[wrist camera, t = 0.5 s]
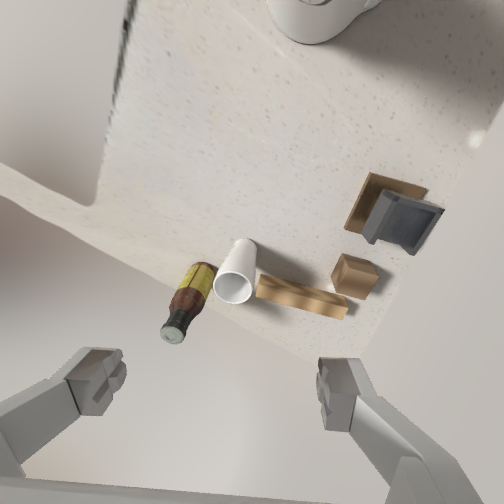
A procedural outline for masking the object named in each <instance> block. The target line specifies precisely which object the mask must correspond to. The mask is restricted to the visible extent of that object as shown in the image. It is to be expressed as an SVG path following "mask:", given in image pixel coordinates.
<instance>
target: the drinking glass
mask: <svg viewBox="0 0 504 504" xmlns="http://www.w3.org/2000/svg"><path fill="white" fill-rule="evenodd" d="M256 254H257V247H256V245H255V243H254V242H253V241H251V240H249V239H245V238H243V239H239V240H237V241H236V242H235V243H234V245H233V247H232V249H231V251H230V252H229V254H228V255H227V257H226V258H225V260H224V261H223V263H222V264H221V266H220V268H219V270H218V272H217V274H216V277H215V279H214V282H213V289H214V292H215V294H216V295H217V296H218V297H219V298H220V299H221V300H223V301H224V302H227V303H230V304H240V303H243V302H245V301H247V300H248V299H249V298H250V296H251V294H252V291H253V288H254V283H255V275H256Z"/></svg>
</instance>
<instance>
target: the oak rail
mask: <svg viewBox="0 0 504 504" xmlns="http://www.w3.org/2000/svg"><path fill="white" fill-rule="evenodd" d="M255 297H259V298H262V299H266V300H270V301H273V302H277V303H281V304H284V305H288V306H292V307H295V308H299V309H303V310H306V311H310V312H314V313H317V314H321V315H325V316H328V317H332V318H336V319H339V320H342V319H343V318H344V316H345V314H346V312H347V311H348V309H349V308H348V305H347V303H346V300H345V297H344V296H340V295H337V294H333V293H329V292H326V291H322V290H318V289H315V288H311V287H307V286H304V285H300V284H296V283H293V282H289V281H285V280H282V279H278V278H274V277H271V276H267V275H263V274H261V275H260V278H259V282H258V285H257V290H256V296H255Z"/></svg>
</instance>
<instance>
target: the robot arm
mask: <svg viewBox="0 0 504 504" xmlns="http://www.w3.org/2000/svg"><path fill="white" fill-rule="evenodd" d="M381 1H382V0H266V2H267V6H268V9H269V12H270V14H271V17H272V18H273V20H274V22H275V24H276V25H277V27H278V28H279V29H280V30H281V31H282V32H283V33H284V34H285V35H286V36H287V37H289V38H290V39H292V40H294V41H297V42H300V43H304V44H316V43H321V42H324V41H327V40H329V39H331V38H333V37H334V36H336V35H337V34H339V33H340V32H341V31H343V30H344V29H345V28H346V27H347V26H348V25H349V24H350V23H351V22H352V21H353V20H354V18H356V17H357V16H358V15H359V14H360V13H362V12H364V11H367V10H369V9H371V8H373V7H374V6H376V5H377V4H379V3H380V2H381ZM122 357H123V354H122V351H121V350H120V349H113V348H99V347H83V348H81V349H79V350H78V351H77V352H76V353H75V354H74V355H73V356H72V357H71V358H70V359H69V360H68V361H67V362H66V363H65V364H64V365H63V366H62V367H61V368H60V369H59V370H58V371H57V372H56V373H55V374H54V375H53V376H52V377H51V378H50V379H44V380H42V381H40V382H38V383H36V384H35V385H33V386H31V387H29V388H27V389H25V390H23V391H21V392H20V393H17V394H15V395H14V396H12V397H10V398H8V399H6V400H4V401H2V402H0V504H330V503H318V502H306V501H305V502H304V501H294V500H282V499H269V498H258V497H246V496H233V495H222V494H210V493H197V492H186V491H174V490H162V489H150V488H138V487H125V486H113V485H101V484H89V483H77V482H65V481H52V480H41V479H28V478H25V477H26V476H25V473H24V471H23V469H22V468H21V466H20V465H21V464H22V463H23V462H24V461H26V460H27V459H28V458H29V457H31V456H32V455H33V454H34V453H35V452H37V451H38V450H39V449H41V448H42V447H43V446H44V445H46V444H47V443H48V442H49V441H51V440H52V439H53V438H54V437H56V436H57V435H58V434H59V433H60V432H62V431H63V430H64V429H66V428H67V427H68V426H69V425H71V424H72V423H73V422H74V421H75V420H77V419H78V418H79V417H80V415H84V416H102V415H103V413H104V412H105V411H106V409H107V408H108V406H109V404H110V403H111V402H112V400H113V393H115V392H116V391H118V390H119V389H120V388H121V386H122V385H123V383H124V381H125V378H126V372H127V371H126V365H125V363H124V362H122V361H121V359H122ZM318 367H319V372H318V373H317V381H316V384H317V394H318V399H319V401H320V402H321V403H322V408H321V414H322V418H323V423H324V428H325V430H330V431H340V432H341V431H342V432H350V433H349V434H350V435H351V437H352V438H353V439H354V440H355V442H356V443H357V444H358V446H359V447H360V448H361V449H362V451H363V452H364V453H365V455H366V456H367V457H368V458H369V460H370V461H371V462H372V464H373V465H374V466H375V468H376V469H377V470H378V472H379V473H380V474H381V475H382V477H383V478H384V479H385V481H386V482H387V483H388V485H389V486H390V491H389V493H388V496H387V499H386V503H385V504H484V503H483V502H482V500H481V498H480V497H479V495H478V494H477V492H476V490H475V489H474V487H473V486H472V484H471V482H470V481H469V479H468V478H467V476H466V474H465V473H464V471H463V470H462V468H461V467H460V465H459V463H458V462H457V460H456V459H455V458H454V457H453V456H451V455H450V454H449V453H448V452H447V451H445V450H444V449H443V448H442V447H441V446H440V445H439V444H437V443H436V442H435V441H434V440H433V439H432V438H430V437H429V436H428V435H427V434H425V433H424V432H423V431H422V430H421V429H420V428H418V427H417V426H416V425H415V424H414V423H413V422H411V421H410V420H409V419H408V418H407V417H405V416H404V415H403V414H402V413H401V412H400V411H398V410H397V409H396V408H395V407H394V406H392V405H391V404H390V403H389V402H387V401H386V400H385V399H384V398H383V397H380V396H377V394H376V392H375V390H374V388H373V385H372V383H371V381H370V379H369V377H368V375H367V373H366V370H365V368H364V366H363V364H362V362H361V360H360V359H359V358H328V357H319V360H318Z"/></svg>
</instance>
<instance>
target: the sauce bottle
mask: <svg viewBox="0 0 504 504" xmlns="http://www.w3.org/2000/svg"><path fill="white" fill-rule="evenodd" d="M214 277H215V273H214V270H213V268H212V267H211V266H210V265H209V264H206V263H203V262H198V263H196V264H194V265H192V267H191V268H190V269H189V271H188V272H187V274H186V276H185V277H184V279H183V281H182V283H181V284H180V286H179V288H178V289H177V291H176V293H175V295H174V297H173V298H172V301H171V304H170V306H169V309H170V317H169V319H168V320H167V322H166V323H165V324H164V325H163V327H162V329H161V331H160V335H161V337H162V339H163V340H165V341H166V342H168V343H171V344H178V343H181V342H182V341H183V340H184V338H185V336H186V330H187V328H188V326H189V325H190V322H191V321H192V320H193V319H194V318H195V317H196V315H198V314H199V313H200V312H201V311H202V309H203V307H204V305H205V302H206V299H207V297H208V294H209V292H210V289H211V287H212V284H213V282H214Z"/></svg>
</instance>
